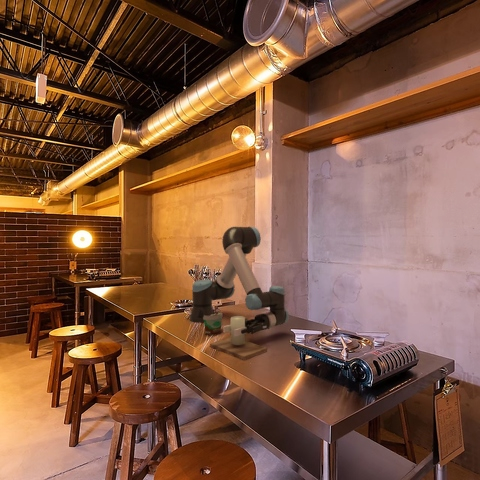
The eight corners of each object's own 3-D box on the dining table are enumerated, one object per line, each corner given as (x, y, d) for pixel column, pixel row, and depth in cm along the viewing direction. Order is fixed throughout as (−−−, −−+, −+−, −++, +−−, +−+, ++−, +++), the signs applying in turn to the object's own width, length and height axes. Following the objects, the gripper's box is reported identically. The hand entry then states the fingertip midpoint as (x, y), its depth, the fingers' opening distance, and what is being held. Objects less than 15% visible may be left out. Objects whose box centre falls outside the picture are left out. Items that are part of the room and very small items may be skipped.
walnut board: (210, 346, 144) (210, 343, 144) (232, 339, 154) (232, 336, 154) (244, 360, 128) (244, 356, 128) (267, 351, 138) (266, 347, 138)
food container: (212, 337, 158) (212, 317, 157) (203, 335, 161) (203, 315, 161) (227, 331, 167) (227, 312, 167) (219, 329, 171) (218, 310, 171)
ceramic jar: (227, 342, 141) (227, 317, 141) (238, 339, 145) (237, 315, 145) (237, 345, 136) (237, 320, 136) (248, 342, 141) (247, 317, 141)
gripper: (280, 333, 146) (245, 345, 130) (250, 325, 160) (215, 335, 144) (280, 317, 146) (245, 327, 130) (250, 310, 160) (214, 318, 144)
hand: (229, 331), depth 137 cm, fingers closed on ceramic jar, 6 cm apart
